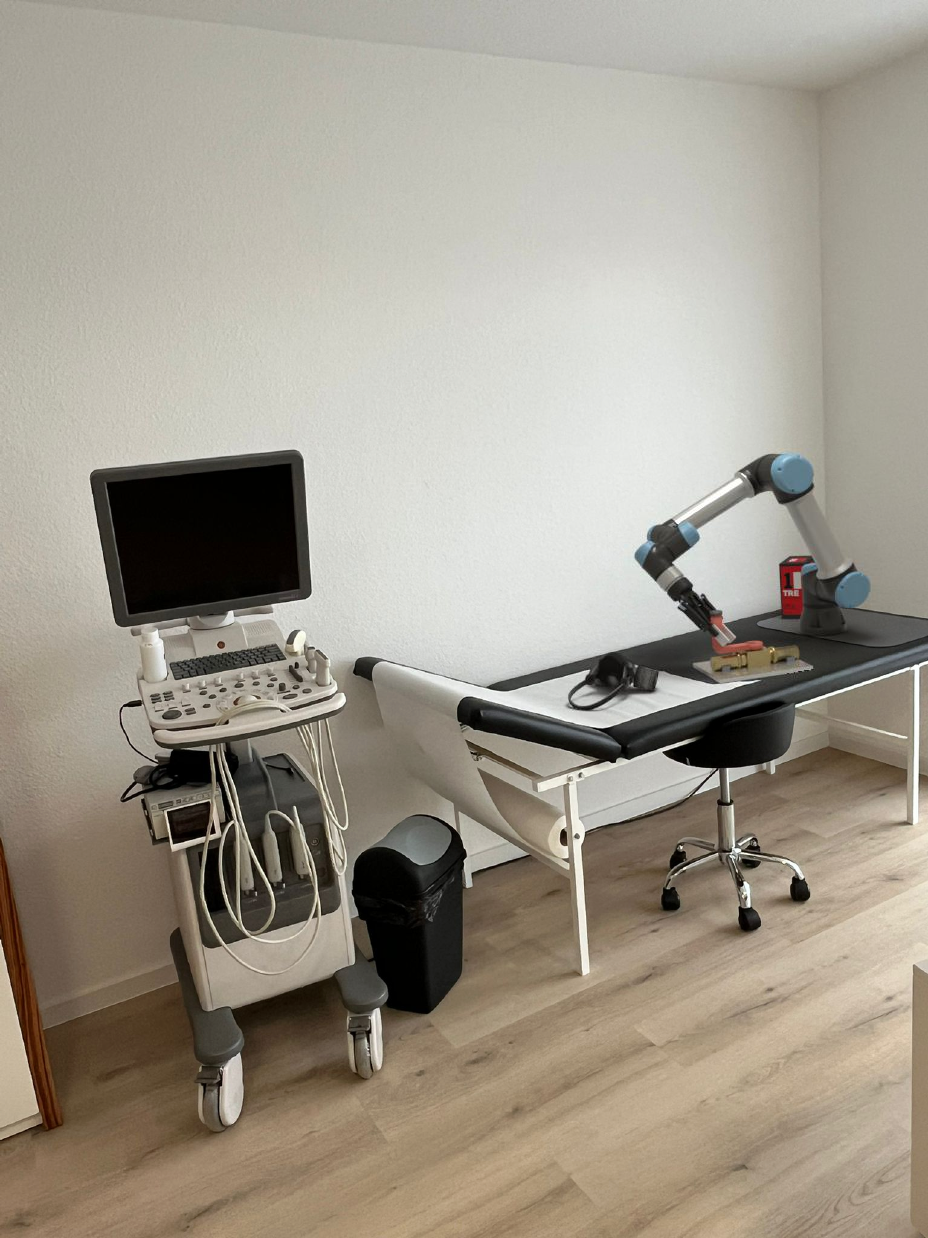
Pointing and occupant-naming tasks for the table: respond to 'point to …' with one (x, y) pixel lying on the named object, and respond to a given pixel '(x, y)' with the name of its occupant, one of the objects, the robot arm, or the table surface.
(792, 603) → the cleaning product box
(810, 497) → the robot arm
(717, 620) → the lever
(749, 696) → the table surface
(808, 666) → the valve
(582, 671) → the table surface
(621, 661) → the respirator mask
